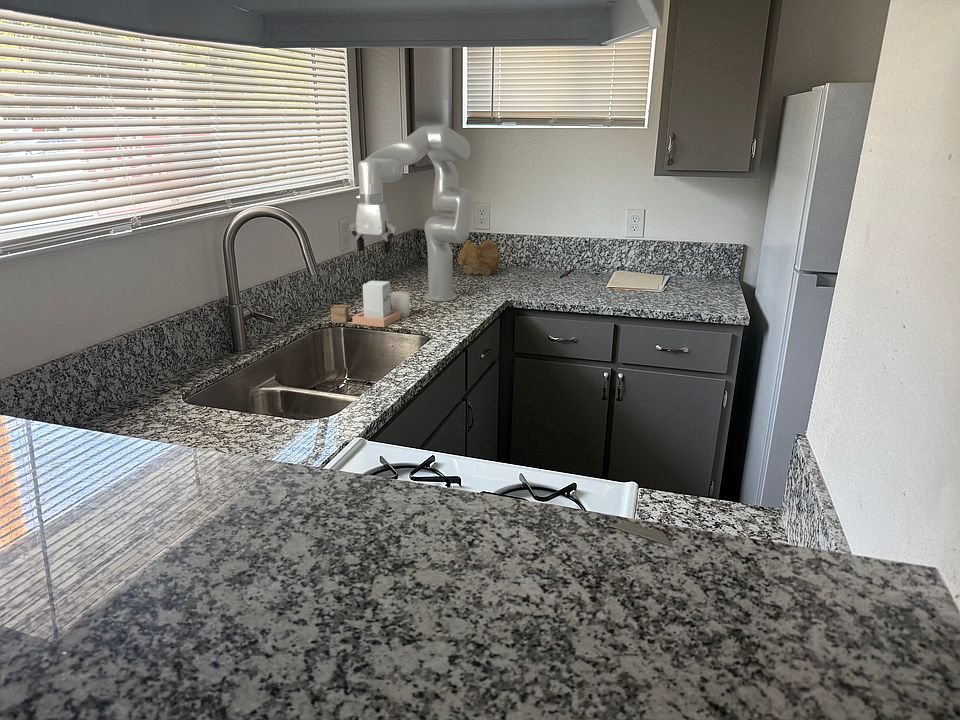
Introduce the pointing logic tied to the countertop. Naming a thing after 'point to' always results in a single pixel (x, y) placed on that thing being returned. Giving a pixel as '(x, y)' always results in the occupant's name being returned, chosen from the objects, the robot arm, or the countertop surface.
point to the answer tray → (376, 319)
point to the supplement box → (376, 299)
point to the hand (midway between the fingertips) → (374, 251)
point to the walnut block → (340, 313)
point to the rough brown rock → (479, 258)
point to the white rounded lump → (401, 302)
